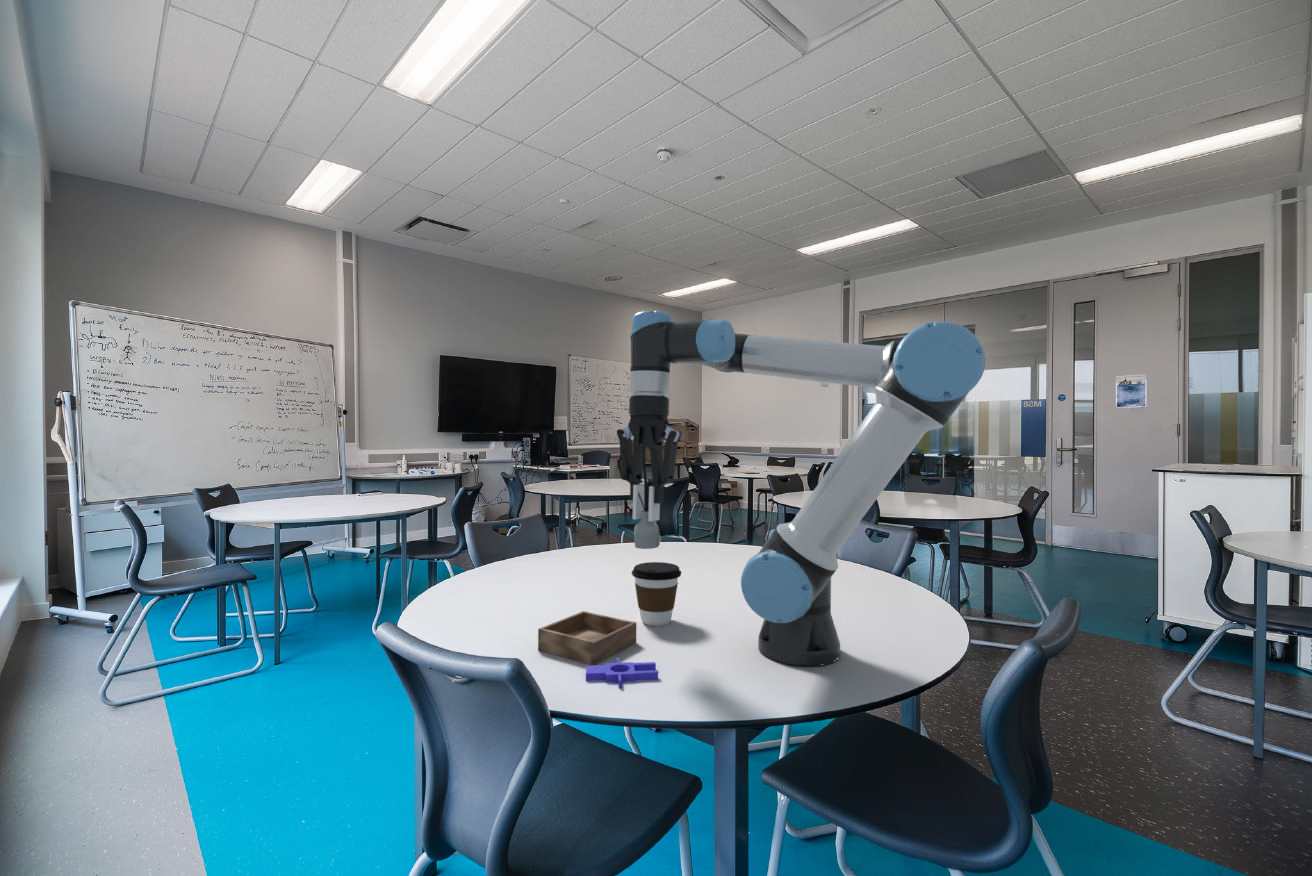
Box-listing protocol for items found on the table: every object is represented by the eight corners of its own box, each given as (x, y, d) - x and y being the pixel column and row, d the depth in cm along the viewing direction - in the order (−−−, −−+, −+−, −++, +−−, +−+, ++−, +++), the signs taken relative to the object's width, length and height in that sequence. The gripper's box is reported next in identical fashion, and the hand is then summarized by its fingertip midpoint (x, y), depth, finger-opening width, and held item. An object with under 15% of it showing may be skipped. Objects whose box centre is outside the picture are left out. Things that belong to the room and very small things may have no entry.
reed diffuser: (660, 554, 104) (658, 444, 104) (622, 555, 104) (620, 445, 104) (659, 544, 114) (657, 444, 114) (624, 545, 114) (622, 445, 114)
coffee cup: (672, 632, 119) (673, 574, 119) (623, 626, 123) (624, 570, 123) (686, 616, 130) (687, 563, 130) (641, 611, 133) (641, 560, 133)
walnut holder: (636, 642, 113) (636, 622, 113) (594, 665, 102) (594, 642, 102) (583, 630, 120) (583, 611, 120) (538, 650, 109) (538, 629, 109)
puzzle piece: (659, 689, 93) (659, 679, 93) (585, 692, 92) (585, 681, 92) (653, 665, 103) (653, 656, 103) (586, 667, 102) (586, 658, 102)
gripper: (696, 396, 107) (692, 521, 107) (626, 397, 116) (623, 513, 116) (675, 393, 101) (671, 526, 101) (603, 394, 109) (600, 517, 110)
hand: (645, 519), depth 108 cm, fingers closed on reed diffuser, 3 cm apart
